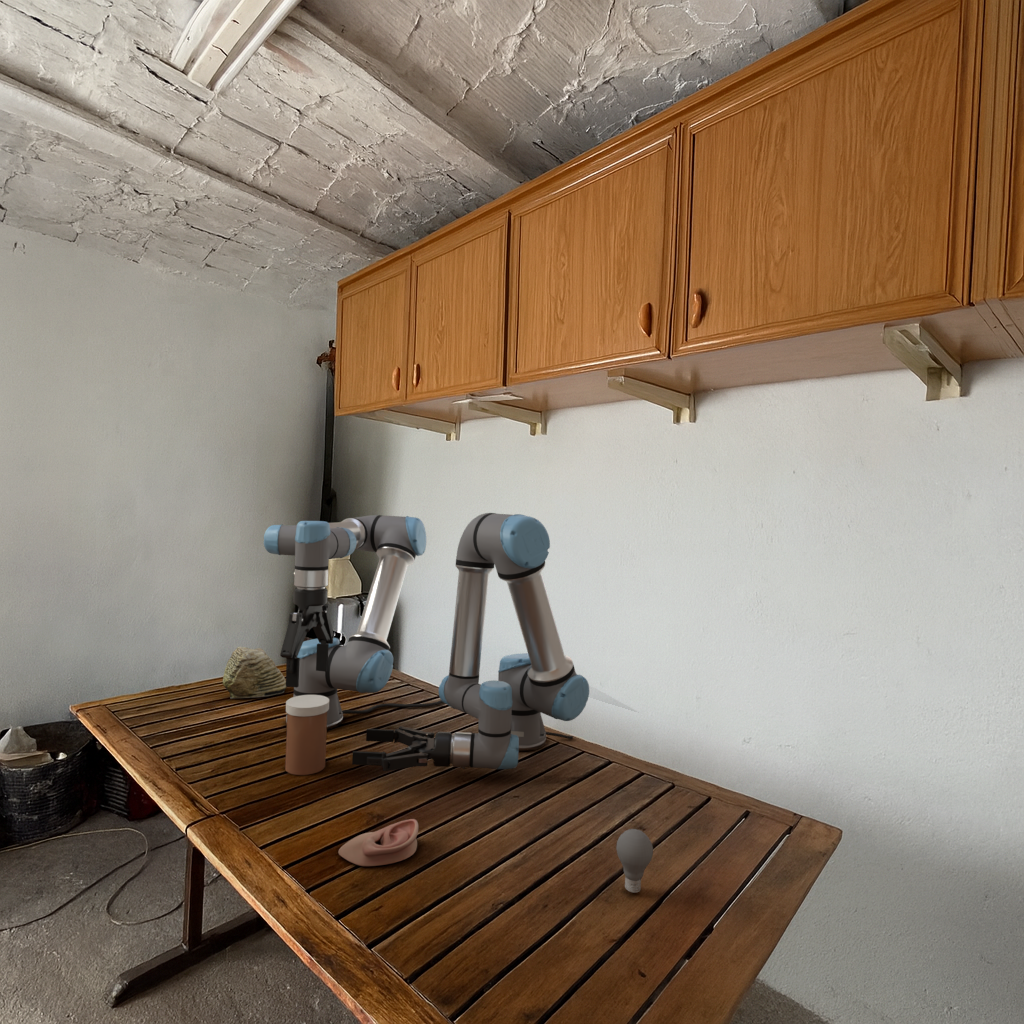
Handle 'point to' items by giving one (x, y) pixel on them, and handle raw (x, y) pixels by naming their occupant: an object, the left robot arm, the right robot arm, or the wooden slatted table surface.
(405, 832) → the anatomical model
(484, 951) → the wooden slatted table surface
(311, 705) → the lid
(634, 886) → the light bulb
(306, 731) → the jar
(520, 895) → the wooden slatted table surface
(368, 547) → the left robot arm
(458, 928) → the wooden slatted table surface
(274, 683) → the fossil
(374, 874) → the wooden slatted table surface
